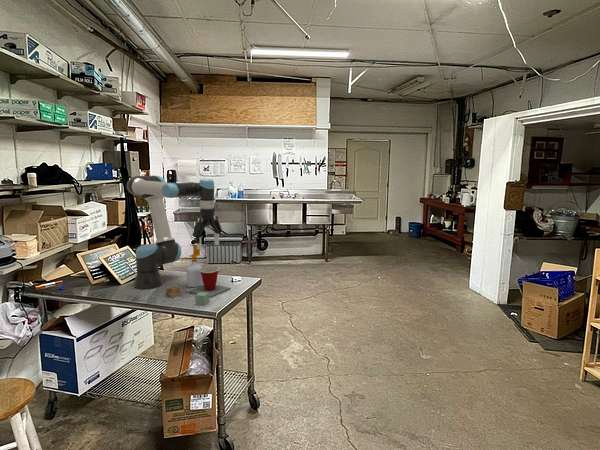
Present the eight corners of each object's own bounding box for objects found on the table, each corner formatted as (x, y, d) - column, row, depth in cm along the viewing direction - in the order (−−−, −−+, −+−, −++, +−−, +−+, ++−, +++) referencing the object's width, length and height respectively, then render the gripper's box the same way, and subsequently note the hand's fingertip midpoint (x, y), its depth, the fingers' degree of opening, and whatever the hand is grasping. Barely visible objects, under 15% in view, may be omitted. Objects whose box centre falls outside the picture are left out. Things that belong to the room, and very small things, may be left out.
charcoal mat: (188, 292, 202) (188, 291, 202) (209, 285, 216) (209, 283, 216) (210, 297, 195) (210, 296, 194) (230, 289, 208) (230, 287, 208)
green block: (195, 304, 185) (195, 294, 184) (200, 301, 190) (200, 291, 189) (204, 305, 184) (204, 295, 183) (209, 302, 188) (209, 292, 188)
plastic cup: (197, 292, 200) (196, 270, 199) (203, 286, 211) (202, 265, 209) (216, 292, 200) (216, 271, 198) (222, 286, 210) (221, 266, 209)
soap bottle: (184, 286, 213) (182, 244, 210) (192, 282, 222) (191, 241, 218) (197, 288, 210) (196, 245, 207) (206, 283, 219) (204, 242, 216)
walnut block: (166, 296, 196) (165, 287, 195) (173, 294, 200) (173, 285, 200) (172, 298, 193) (172, 289, 193) (180, 295, 198) (179, 286, 197)
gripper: (195, 210, 186) (196, 252, 189) (228, 206, 208) (228, 243, 211) (184, 209, 190) (185, 250, 193) (217, 206, 211) (218, 242, 215)
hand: (208, 247), depth 202 cm, fingers open, 13 cm apart
